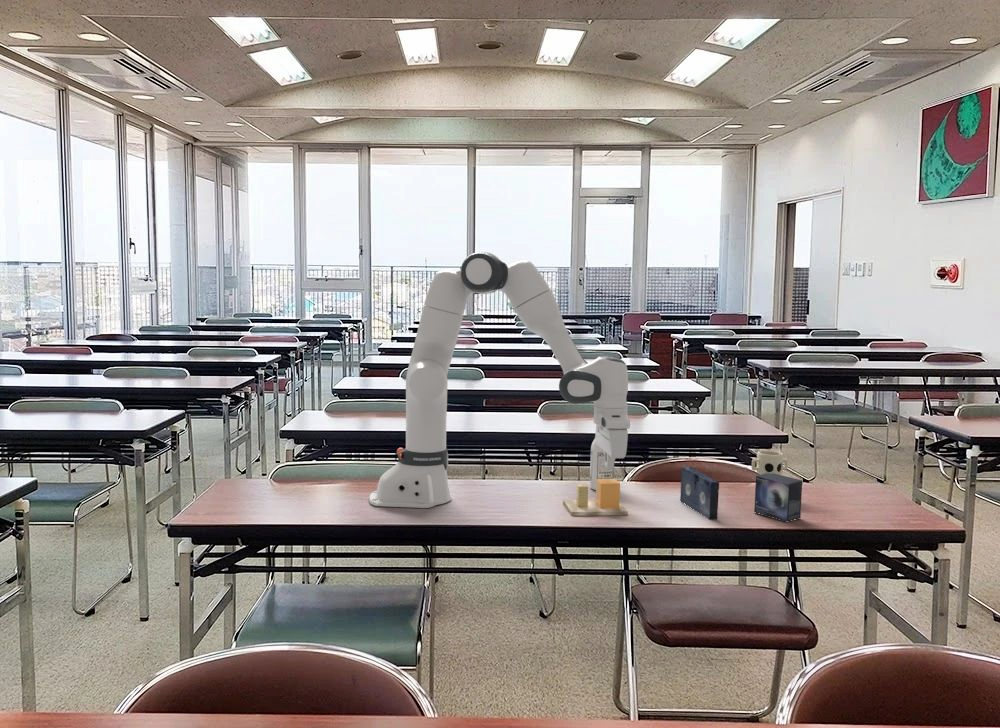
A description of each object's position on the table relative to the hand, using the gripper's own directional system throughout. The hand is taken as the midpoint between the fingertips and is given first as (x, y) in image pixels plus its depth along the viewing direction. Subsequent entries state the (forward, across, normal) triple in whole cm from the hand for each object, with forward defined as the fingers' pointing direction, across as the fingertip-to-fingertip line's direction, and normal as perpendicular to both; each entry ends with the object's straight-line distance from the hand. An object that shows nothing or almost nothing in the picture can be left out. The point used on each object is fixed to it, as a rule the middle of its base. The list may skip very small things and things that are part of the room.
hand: (609, 468), depth 227 cm
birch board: (+11, 0, -4) cm, 12 cm away
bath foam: (+11, -22, +3) cm, 25 cm away
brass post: (+11, 0, -7) cm, 13 cm away
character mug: (+12, -10, +49) cm, 52 cm away
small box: (+12, +9, +43) cm, 46 cm away
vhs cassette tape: (+12, +2, +24) cm, 27 cm away
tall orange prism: (+10, 0, 0) cm, 10 cm away
